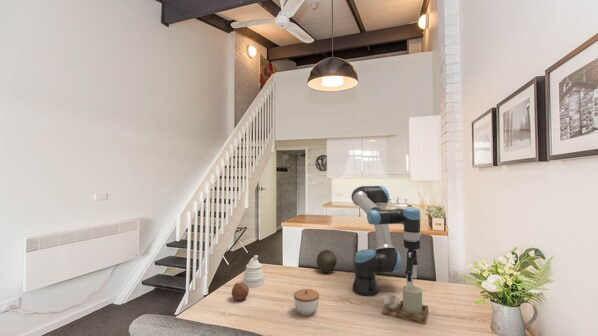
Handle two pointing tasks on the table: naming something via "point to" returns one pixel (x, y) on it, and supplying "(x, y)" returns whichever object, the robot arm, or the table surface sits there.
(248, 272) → the honey pot
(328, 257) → the cantaloupe
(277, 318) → the table surface
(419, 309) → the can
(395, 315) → the caddy
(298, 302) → the lidded bowl
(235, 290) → the onion
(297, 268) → the table surface
